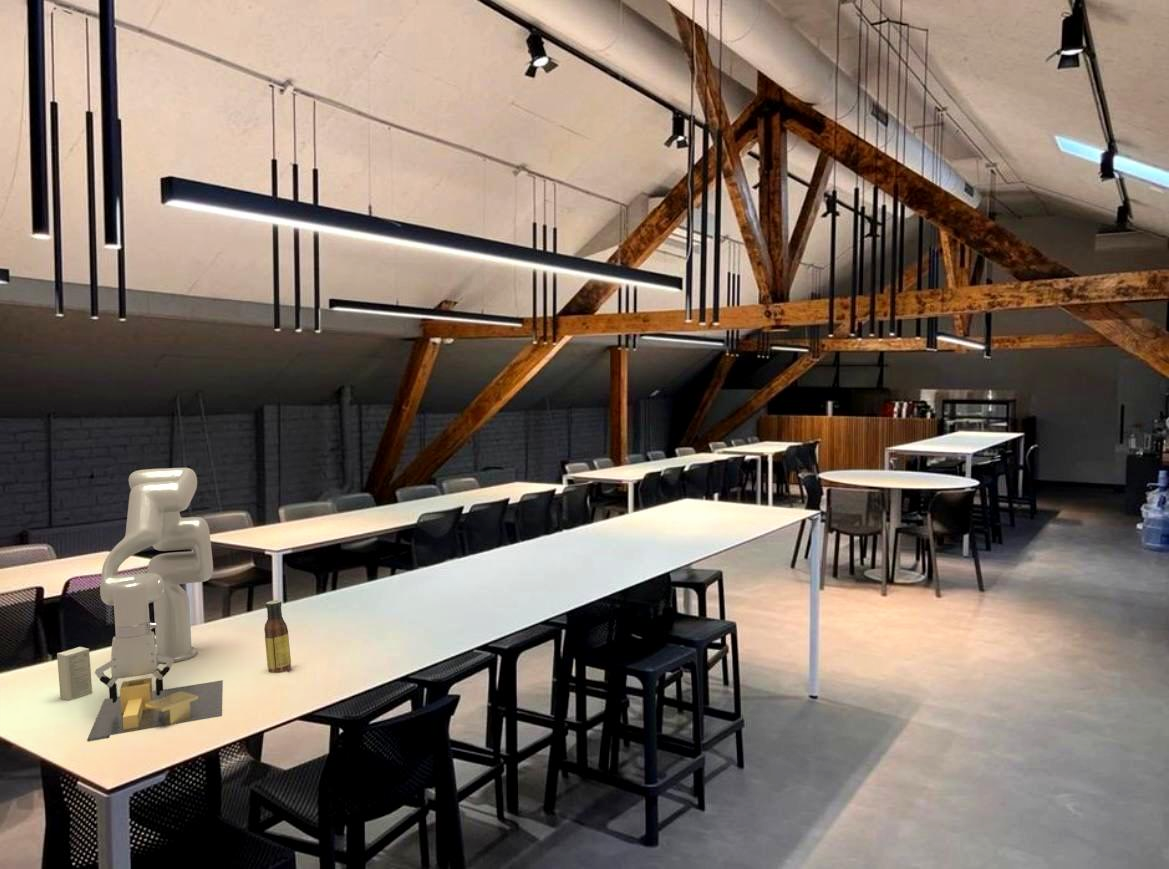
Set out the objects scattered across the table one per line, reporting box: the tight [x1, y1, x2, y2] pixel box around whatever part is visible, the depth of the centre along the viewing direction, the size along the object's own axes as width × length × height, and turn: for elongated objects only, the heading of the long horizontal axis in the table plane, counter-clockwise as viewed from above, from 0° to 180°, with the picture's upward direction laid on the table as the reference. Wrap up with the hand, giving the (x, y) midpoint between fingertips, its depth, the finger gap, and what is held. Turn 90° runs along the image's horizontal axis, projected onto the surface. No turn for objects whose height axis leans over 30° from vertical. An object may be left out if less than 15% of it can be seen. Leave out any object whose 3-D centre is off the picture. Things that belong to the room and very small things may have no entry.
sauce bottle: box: [264, 599, 292, 674], centre depth 228 cm, size 6×6×20 cm
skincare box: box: [56, 646, 93, 701], centre depth 214 cm, size 6×4×12 cm
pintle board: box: [86, 680, 224, 742], centre depth 202 cm, size 29×28×6 cm
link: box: [119, 676, 153, 730], centre depth 198 cm, size 18×6×6 cm, turn 24°
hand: (137, 697), depth 203 cm, fingers open, 9 cm apart
